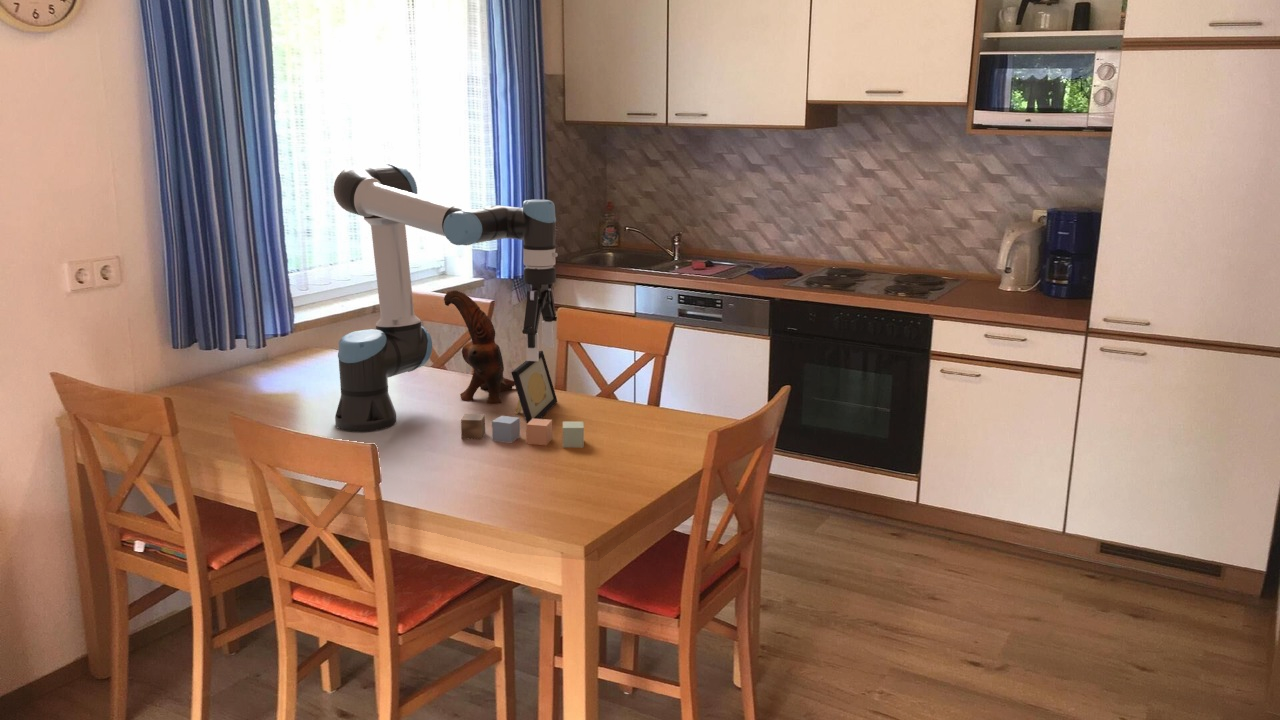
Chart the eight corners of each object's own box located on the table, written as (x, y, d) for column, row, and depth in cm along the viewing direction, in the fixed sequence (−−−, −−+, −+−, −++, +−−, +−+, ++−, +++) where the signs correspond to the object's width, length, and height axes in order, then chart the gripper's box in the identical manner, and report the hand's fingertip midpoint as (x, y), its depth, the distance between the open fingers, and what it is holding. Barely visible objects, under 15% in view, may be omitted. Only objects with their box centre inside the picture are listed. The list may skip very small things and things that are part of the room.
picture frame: (532, 427, 254) (525, 370, 251) (499, 428, 256) (492, 372, 253) (557, 402, 276) (551, 350, 273) (527, 403, 278) (520, 351, 275)
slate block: (492, 440, 245) (492, 421, 243) (501, 434, 249) (501, 415, 248) (511, 443, 243) (510, 423, 242) (519, 437, 248) (519, 417, 246)
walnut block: (461, 439, 245) (461, 419, 244) (465, 432, 250) (464, 413, 249) (481, 439, 245) (481, 420, 244) (485, 433, 250) (484, 414, 249)
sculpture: (440, 396, 281) (437, 291, 274) (485, 382, 296) (483, 282, 289) (490, 407, 271) (487, 298, 264) (533, 392, 286) (532, 289, 279)
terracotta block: (526, 444, 243) (526, 424, 241) (532, 437, 247) (532, 418, 246) (546, 445, 242) (546, 425, 241) (552, 439, 247) (552, 419, 245)
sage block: (562, 447, 241) (562, 427, 239) (562, 440, 245) (562, 421, 244) (583, 447, 241) (583, 427, 240) (583, 440, 246) (583, 421, 244)
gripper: (541, 275, 222) (541, 367, 228) (568, 259, 246) (568, 343, 251) (508, 273, 224) (509, 365, 229) (538, 258, 247) (539, 341, 253)
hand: (540, 354), depth 240 cm, fingers open, 13 cm apart
